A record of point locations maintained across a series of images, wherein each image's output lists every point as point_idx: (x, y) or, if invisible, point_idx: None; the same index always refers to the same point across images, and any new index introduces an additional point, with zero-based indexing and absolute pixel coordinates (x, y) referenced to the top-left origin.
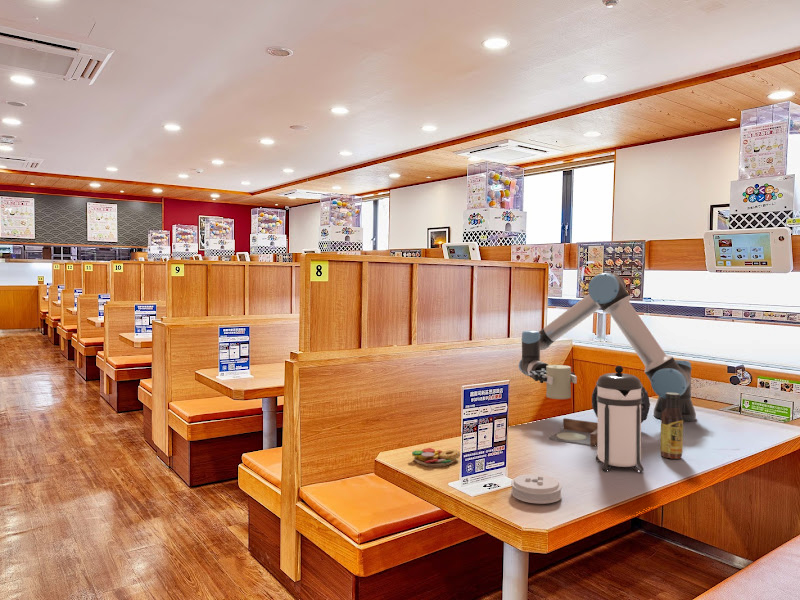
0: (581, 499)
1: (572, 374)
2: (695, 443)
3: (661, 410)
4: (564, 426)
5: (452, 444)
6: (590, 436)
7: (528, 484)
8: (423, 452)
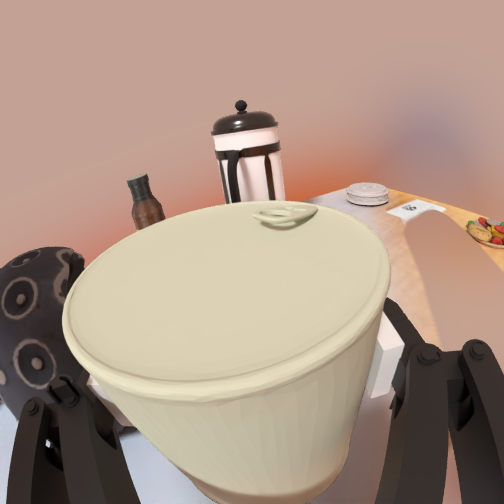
0: (330, 201)
1: (50, 409)
2: None
3: None
4: None
5: None
6: None
7: (373, 184)
8: (501, 225)
